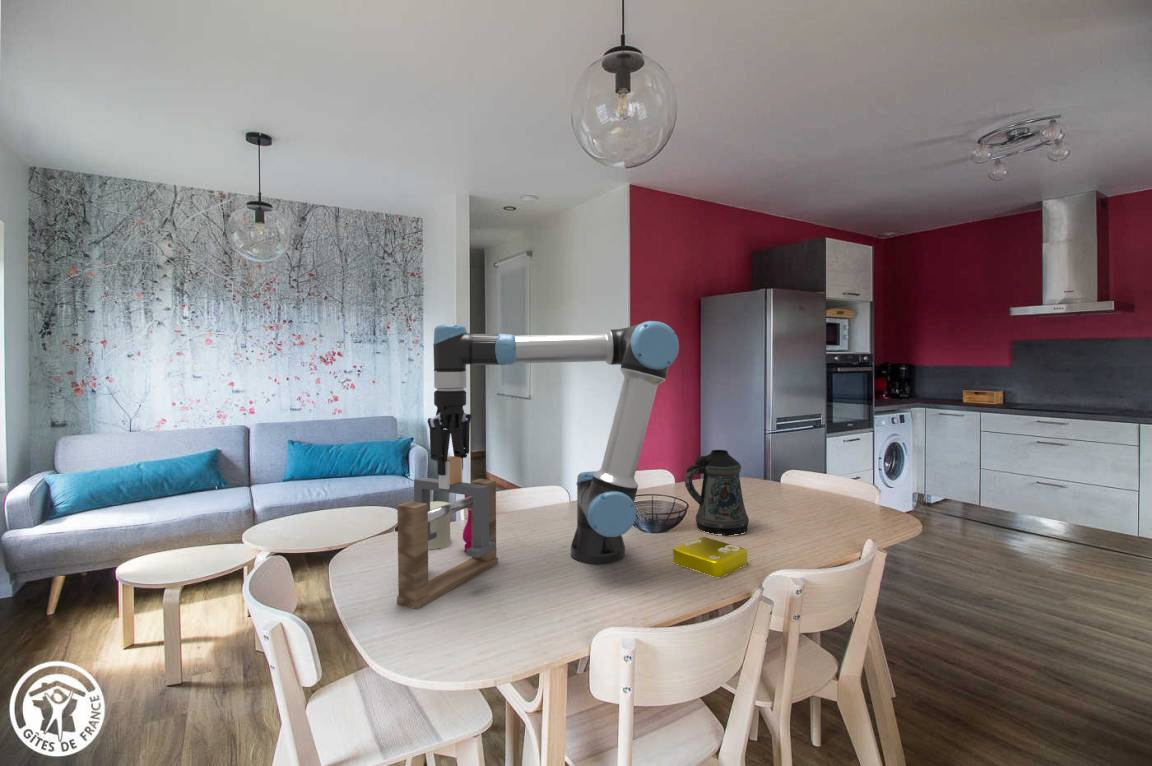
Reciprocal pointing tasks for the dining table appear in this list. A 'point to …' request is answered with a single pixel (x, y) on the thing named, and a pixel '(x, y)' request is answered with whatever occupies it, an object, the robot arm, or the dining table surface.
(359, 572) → the dining table surface
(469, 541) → the pepper mill
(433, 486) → the grey arch gate
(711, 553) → the element tile
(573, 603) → the dining table surface
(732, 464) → the beer stein
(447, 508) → the rack
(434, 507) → the can
